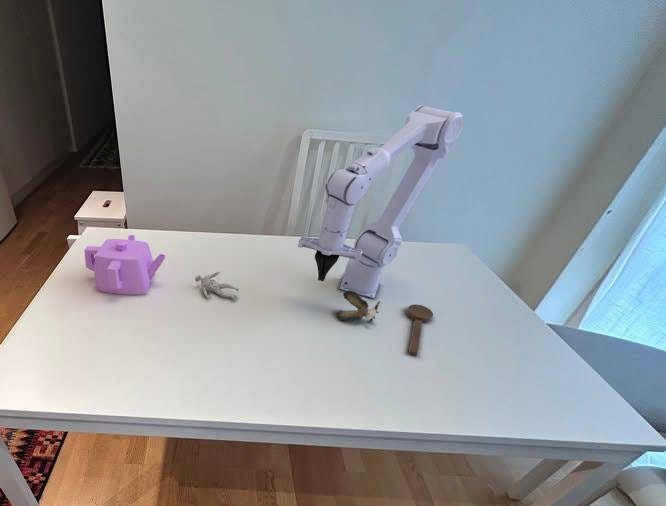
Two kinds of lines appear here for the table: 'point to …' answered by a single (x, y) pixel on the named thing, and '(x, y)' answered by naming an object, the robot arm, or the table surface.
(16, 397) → the table surface
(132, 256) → the teakettle
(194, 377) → the table surface
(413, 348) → the round wooden paddle
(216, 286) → the soldier figure
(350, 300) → the eagle figurine
